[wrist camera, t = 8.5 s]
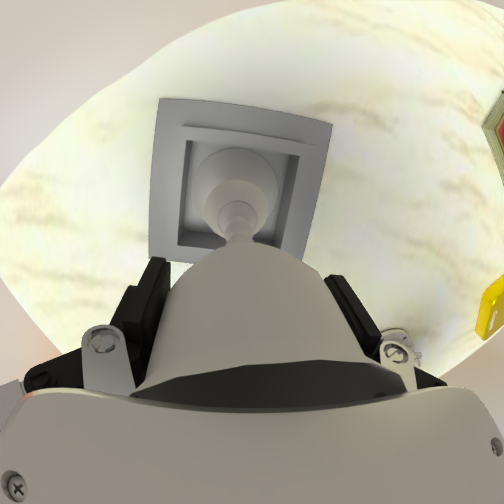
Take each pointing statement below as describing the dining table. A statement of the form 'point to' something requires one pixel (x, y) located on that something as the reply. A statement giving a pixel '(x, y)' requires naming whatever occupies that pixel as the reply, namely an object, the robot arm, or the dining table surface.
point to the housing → (232, 173)
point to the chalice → (256, 325)
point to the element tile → (491, 310)
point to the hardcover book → (496, 134)
